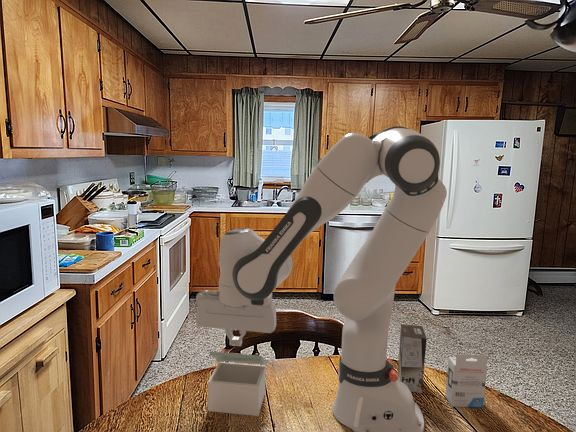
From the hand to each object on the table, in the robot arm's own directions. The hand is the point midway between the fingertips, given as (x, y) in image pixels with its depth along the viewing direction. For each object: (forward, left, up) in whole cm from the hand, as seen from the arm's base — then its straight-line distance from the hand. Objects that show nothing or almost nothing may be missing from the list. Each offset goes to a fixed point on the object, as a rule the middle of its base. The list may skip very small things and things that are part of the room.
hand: (235, 344), depth 102 cm
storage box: (0, -1, -17) cm, 17 cm away
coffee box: (-47, -18, -17) cm, 53 cm away
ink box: (-60, -11, -17) cm, 63 cm away
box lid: (0, -2, -5) cm, 6 cm away
